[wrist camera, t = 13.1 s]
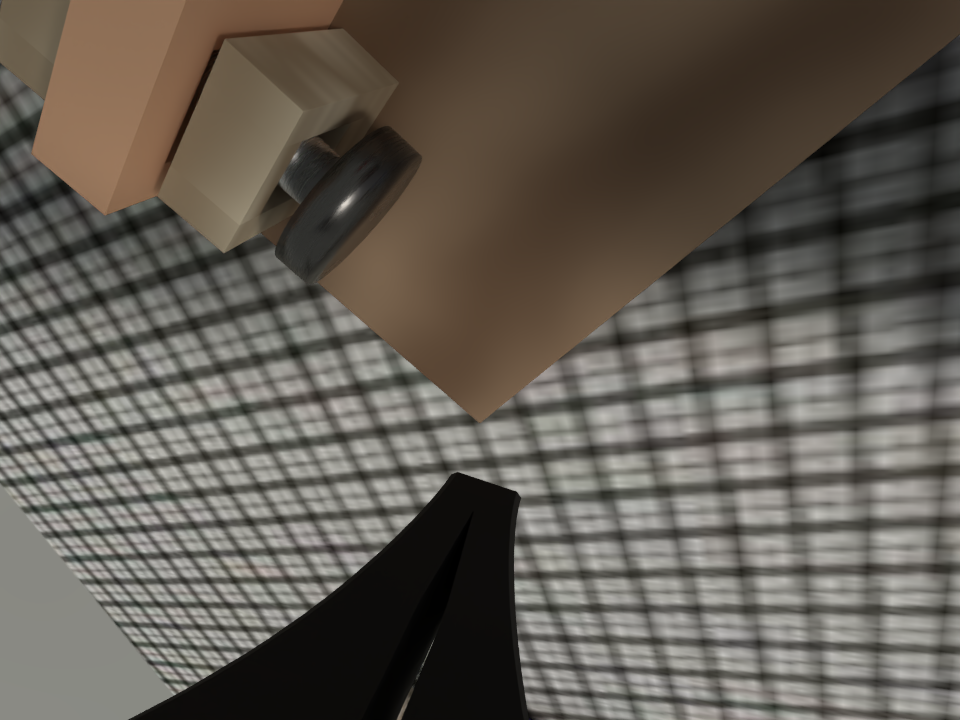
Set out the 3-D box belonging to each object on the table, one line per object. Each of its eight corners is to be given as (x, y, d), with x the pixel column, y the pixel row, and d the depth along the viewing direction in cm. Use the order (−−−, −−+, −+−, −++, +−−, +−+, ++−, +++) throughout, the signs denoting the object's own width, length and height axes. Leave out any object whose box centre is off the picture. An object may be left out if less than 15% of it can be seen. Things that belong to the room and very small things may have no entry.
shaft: (443, 139, 16) (372, 181, 12) (360, 248, 18) (281, 310, 15) (201, -92, 14) (43, -122, 11) (148, 58, 17) (5, 74, 13)
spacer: (344, -2, 15) (186, -2, 10) (257, 157, 18) (104, 215, 14) (284, -61, 15) (93, -90, 10) (206, 111, 18) (31, 153, 13)
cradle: (1021, -34, 12) (1249, -55, 7) (487, 407, 22) (432, 523, 17) (360, -882, 9) (17, -1825, 5) (90, 59, 19) (-108, 80, 15)
